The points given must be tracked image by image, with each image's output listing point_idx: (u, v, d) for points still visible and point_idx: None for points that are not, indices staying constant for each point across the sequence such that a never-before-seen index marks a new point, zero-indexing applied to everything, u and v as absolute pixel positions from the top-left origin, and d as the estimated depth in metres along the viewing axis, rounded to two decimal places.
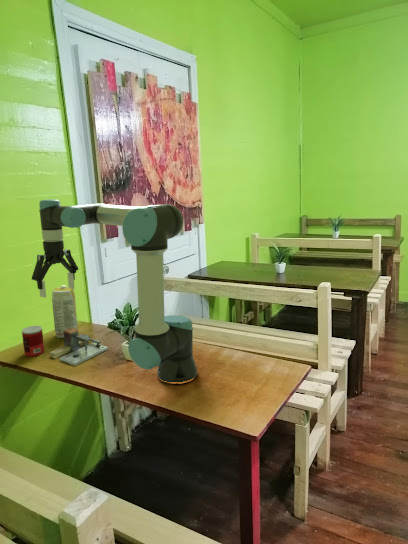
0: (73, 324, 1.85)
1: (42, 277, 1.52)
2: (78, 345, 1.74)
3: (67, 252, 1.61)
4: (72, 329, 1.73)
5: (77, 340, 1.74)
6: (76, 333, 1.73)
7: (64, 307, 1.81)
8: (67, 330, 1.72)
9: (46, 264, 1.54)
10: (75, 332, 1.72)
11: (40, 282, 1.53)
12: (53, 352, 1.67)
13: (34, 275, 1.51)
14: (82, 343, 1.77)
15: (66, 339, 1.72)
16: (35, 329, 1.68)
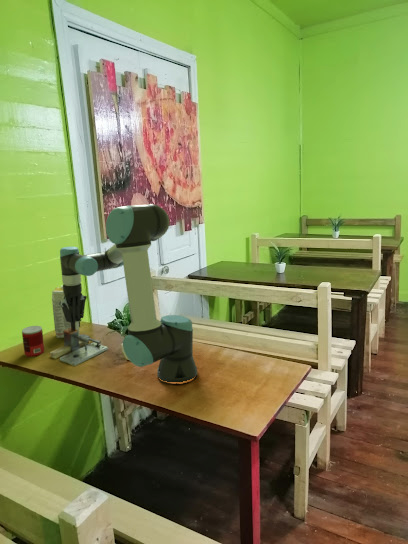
0: None
1: (74, 319, 1.72)
2: (78, 345, 1.74)
3: (83, 297, 1.75)
4: (72, 329, 1.73)
5: (77, 340, 1.73)
6: (76, 333, 1.72)
7: None
8: (67, 330, 1.72)
9: (70, 307, 1.71)
10: (75, 332, 1.72)
11: (73, 323, 1.73)
12: (53, 352, 1.67)
13: (67, 319, 1.70)
14: (82, 343, 1.77)
15: (66, 339, 1.72)
16: (35, 329, 1.68)
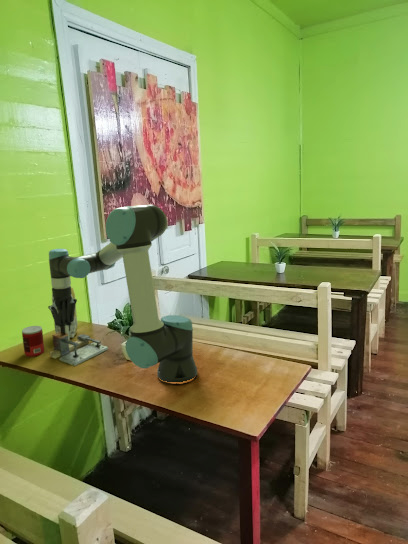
0: (73, 324, 1.85)
1: (63, 323, 1.67)
2: (68, 350, 1.70)
3: (73, 300, 1.71)
4: None
5: (67, 344, 1.69)
6: (66, 337, 1.68)
7: None
8: (56, 334, 1.68)
9: (60, 311, 1.66)
10: (65, 336, 1.68)
11: (63, 327, 1.68)
12: (53, 352, 1.67)
13: (56, 323, 1.66)
14: (82, 343, 1.77)
15: (55, 343, 1.68)
16: (35, 329, 1.68)
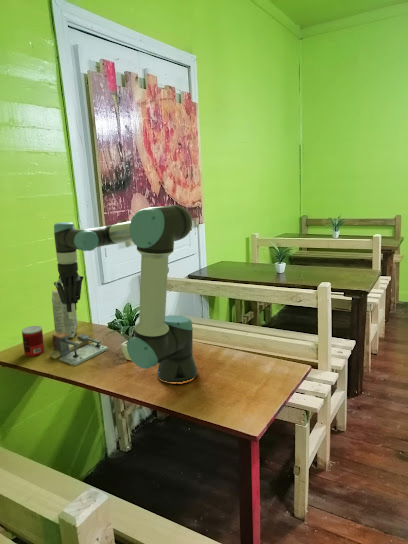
0: (73, 324, 1.85)
1: (70, 300, 1.59)
2: (68, 350, 1.70)
3: (80, 277, 1.63)
4: (62, 333, 1.69)
5: (67, 344, 1.69)
6: (66, 337, 1.68)
7: (64, 307, 1.81)
8: (56, 334, 1.68)
9: (66, 288, 1.58)
10: (65, 336, 1.68)
11: (69, 305, 1.60)
12: (53, 352, 1.67)
13: (62, 300, 1.58)
14: (82, 343, 1.77)
15: (55, 343, 1.68)
16: (35, 329, 1.68)
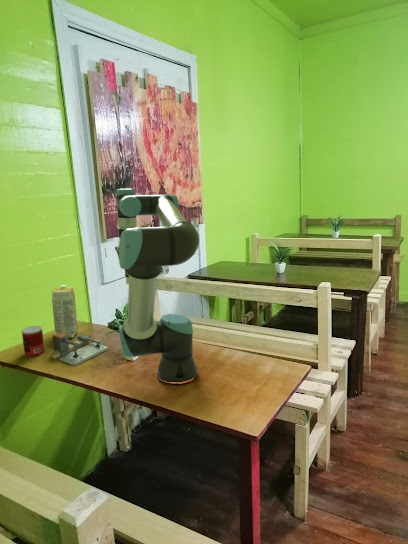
0: (73, 324, 1.85)
1: None
2: (68, 350, 1.70)
3: None
4: (62, 333, 1.69)
5: (67, 344, 1.69)
6: (66, 337, 1.68)
7: (64, 307, 1.81)
8: (56, 334, 1.68)
9: None
10: (65, 336, 1.68)
11: None
12: (53, 352, 1.67)
13: None
14: (82, 343, 1.77)
15: (55, 343, 1.68)
16: (35, 329, 1.68)
